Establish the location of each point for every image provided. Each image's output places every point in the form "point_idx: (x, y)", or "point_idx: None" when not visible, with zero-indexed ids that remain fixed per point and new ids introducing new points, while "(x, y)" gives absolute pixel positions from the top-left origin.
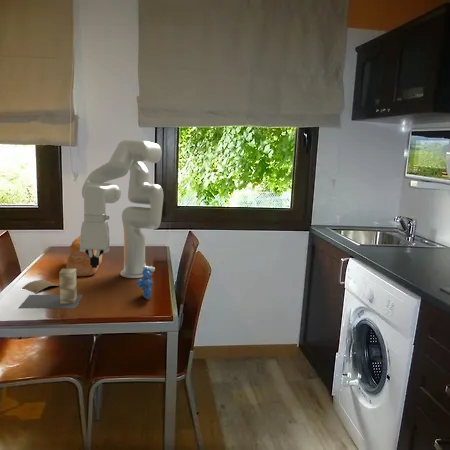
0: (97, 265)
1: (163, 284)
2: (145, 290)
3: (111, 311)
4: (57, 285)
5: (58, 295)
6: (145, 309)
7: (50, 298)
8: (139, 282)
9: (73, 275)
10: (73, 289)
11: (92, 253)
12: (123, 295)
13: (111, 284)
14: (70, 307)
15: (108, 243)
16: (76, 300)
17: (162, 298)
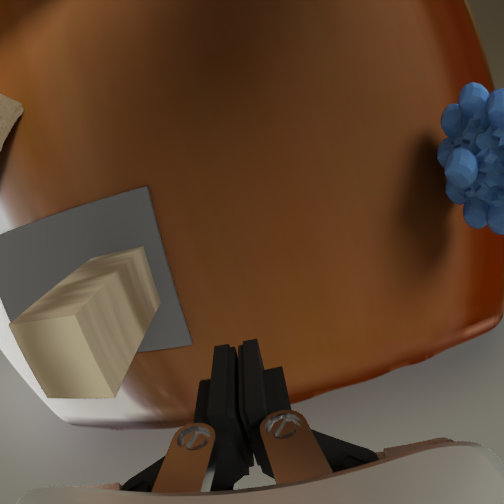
0: (257, 342)
1: (452, 7)
2: (474, 223)
3: (338, 336)
4: (9, 126)
5: (56, 224)
6: (447, 289)
7: (49, 264)
8: (466, 185)
9: (120, 384)
10: (142, 336)
11: (214, 473)
12: (345, 144)
13: (232, 2)
14: (169, 343)
15: (498, 467)
16: (152, 267)
17: None
